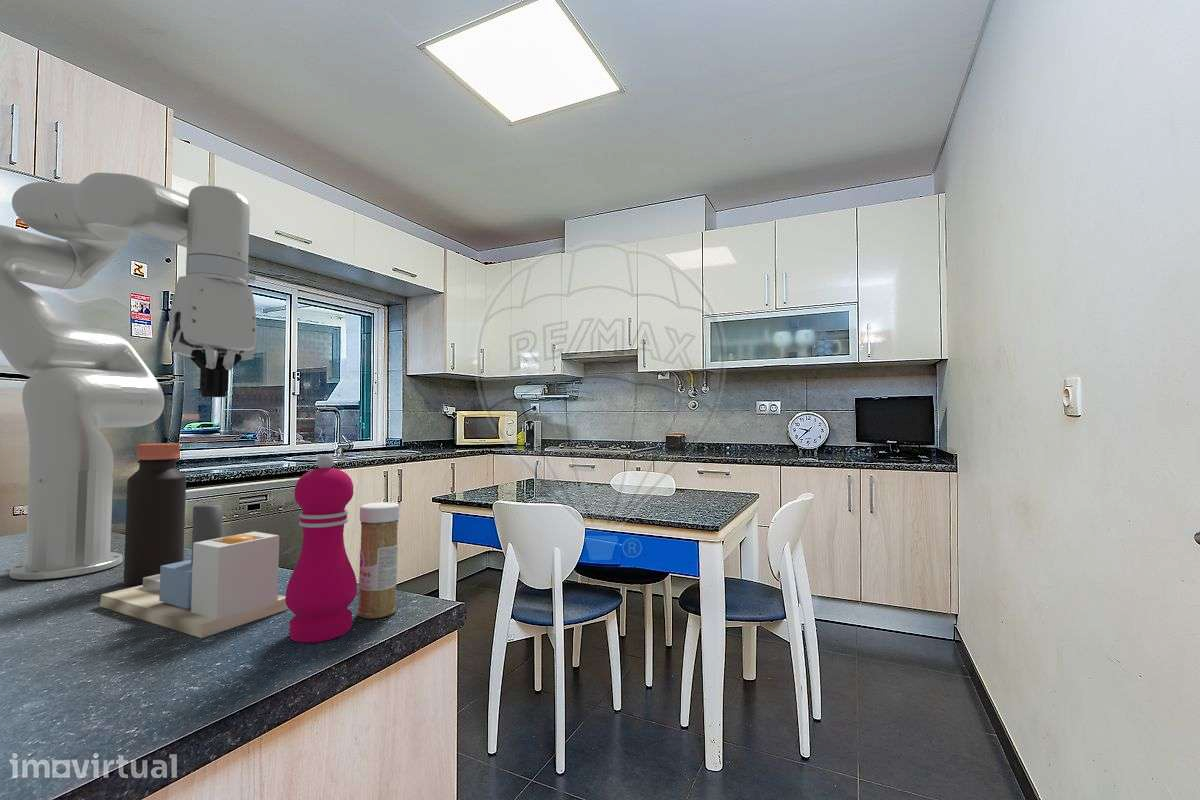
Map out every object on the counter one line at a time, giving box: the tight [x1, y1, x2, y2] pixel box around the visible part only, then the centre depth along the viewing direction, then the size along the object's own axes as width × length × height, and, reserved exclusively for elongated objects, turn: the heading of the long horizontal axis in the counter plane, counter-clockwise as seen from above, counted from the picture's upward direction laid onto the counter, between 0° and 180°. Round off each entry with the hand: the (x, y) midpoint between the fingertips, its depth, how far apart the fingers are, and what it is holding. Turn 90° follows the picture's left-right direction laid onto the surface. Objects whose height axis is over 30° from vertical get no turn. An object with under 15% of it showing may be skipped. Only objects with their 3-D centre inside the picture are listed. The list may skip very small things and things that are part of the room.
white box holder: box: [191, 531, 280, 620], centre depth 65 cm, size 5×7×8 cm
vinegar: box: [123, 442, 187, 587], centre depth 80 cm, size 7×7×20 cm
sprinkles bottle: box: [356, 501, 400, 620], centre depth 67 cm, size 5×5×13 cm
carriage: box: [159, 503, 224, 609], centre depth 67 cm, size 6×7×11 cm
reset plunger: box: [222, 534, 253, 544], centre depth 65 cm, size 3×3×4 cm
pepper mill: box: [285, 453, 358, 644], centre depth 61 cm, size 7×7×20 cm
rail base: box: [100, 574, 290, 639], centre depth 68 cm, size 22×10×3 cm, turn 64°
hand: (213, 396), depth 80 cm, fingers closed
